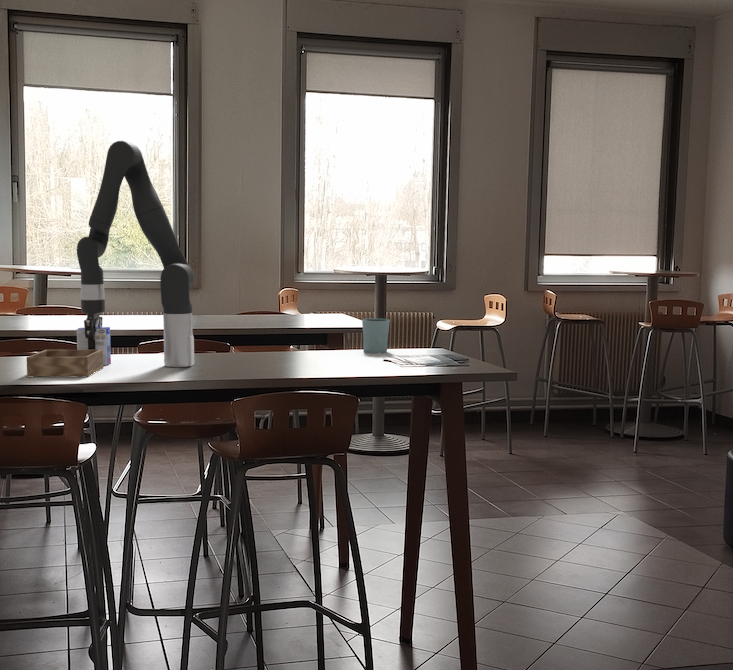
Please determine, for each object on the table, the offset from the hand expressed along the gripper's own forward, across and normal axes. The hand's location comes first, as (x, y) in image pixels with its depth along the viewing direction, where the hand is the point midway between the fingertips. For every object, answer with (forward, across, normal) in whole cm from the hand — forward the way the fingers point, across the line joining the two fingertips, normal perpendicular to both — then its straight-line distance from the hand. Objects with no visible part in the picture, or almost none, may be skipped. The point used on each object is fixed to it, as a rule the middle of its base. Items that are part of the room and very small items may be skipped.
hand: (94, 349), depth 300 cm
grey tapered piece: (+5, +32, -94) cm, 99 cm away
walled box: (+5, -18, +4) cm, 19 cm away
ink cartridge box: (+5, 0, 0) cm, 5 cm away
